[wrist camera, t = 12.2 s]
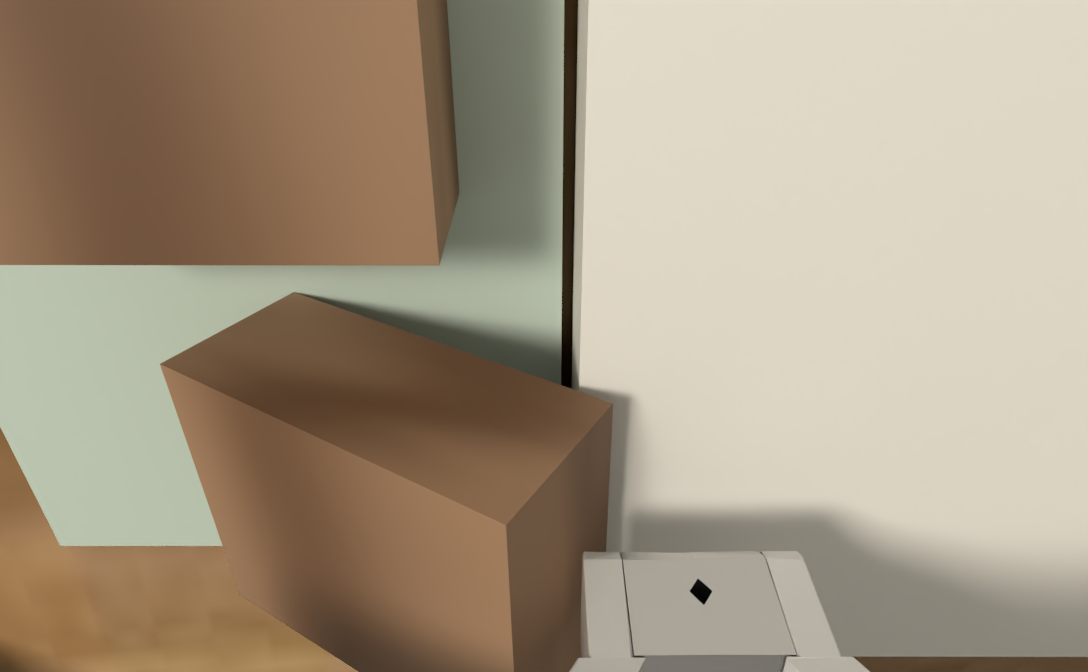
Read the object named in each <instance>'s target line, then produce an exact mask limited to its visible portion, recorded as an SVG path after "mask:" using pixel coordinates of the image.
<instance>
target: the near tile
mask: <svg viewBox="0 0 1088 672" xmlns="http://www.w3.org/2000/svg"><path fill="white" fill-rule="evenodd" d="M458 197H459V178H458V163H457V147H456V132H455V117H454V101H453V86H452V70H451V55H450V40H449V24H448V9H447V0H0V265H335V266H439V265H440V261H441V258H442V254H443V250H444V247H445V243H446V240H447V236H448V233H449V229H450V225H451V222H452V218H453V215H454V211H455V208H456V204H457V200H458Z"/></svg>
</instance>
